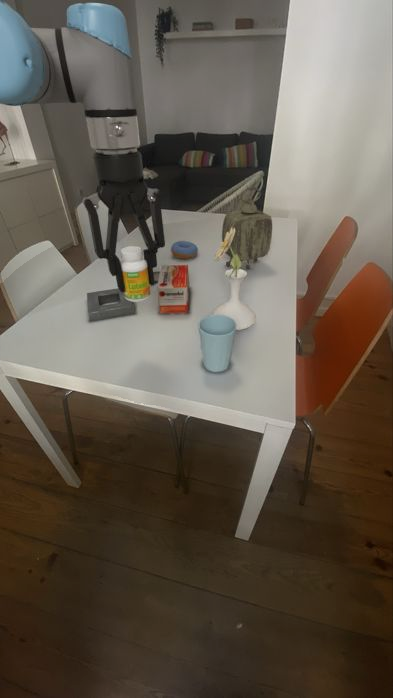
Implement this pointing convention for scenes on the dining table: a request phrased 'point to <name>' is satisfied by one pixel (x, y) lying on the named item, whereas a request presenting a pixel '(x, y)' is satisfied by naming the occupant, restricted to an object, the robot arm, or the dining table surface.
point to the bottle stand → (111, 309)
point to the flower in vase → (234, 289)
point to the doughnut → (184, 249)
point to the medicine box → (173, 289)
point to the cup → (216, 341)
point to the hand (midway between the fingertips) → (136, 285)
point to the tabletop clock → (248, 231)
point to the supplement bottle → (135, 274)
